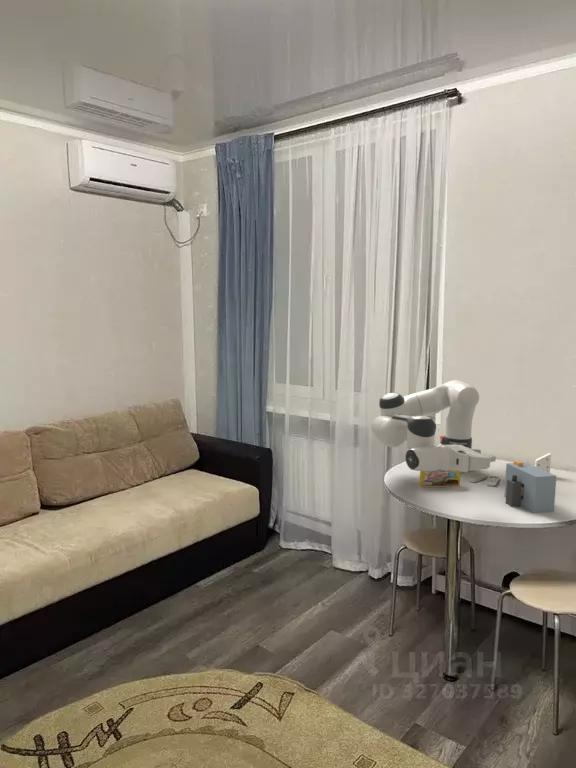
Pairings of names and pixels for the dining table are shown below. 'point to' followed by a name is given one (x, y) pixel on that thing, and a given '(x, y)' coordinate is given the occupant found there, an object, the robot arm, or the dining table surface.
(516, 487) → the plug
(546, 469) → the white wedge bracket
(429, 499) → the dining table surface
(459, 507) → the dining table surface
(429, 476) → the candy box
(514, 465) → the socket
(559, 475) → the dining table surface
